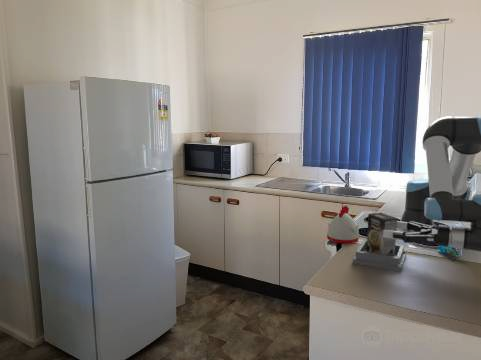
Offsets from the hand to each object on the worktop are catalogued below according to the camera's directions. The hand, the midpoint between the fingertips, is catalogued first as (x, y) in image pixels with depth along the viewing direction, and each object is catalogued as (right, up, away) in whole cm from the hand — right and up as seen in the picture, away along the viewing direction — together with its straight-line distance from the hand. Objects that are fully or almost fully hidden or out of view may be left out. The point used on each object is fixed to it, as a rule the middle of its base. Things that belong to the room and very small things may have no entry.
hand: (386, 228), depth 147 cm
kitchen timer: (-9, -8, +29) cm, 31 cm away
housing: (-1, -13, +3) cm, 13 cm away
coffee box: (-1, -11, +3) cm, 12 cm away
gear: (+28, -12, +9) cm, 32 cm away
